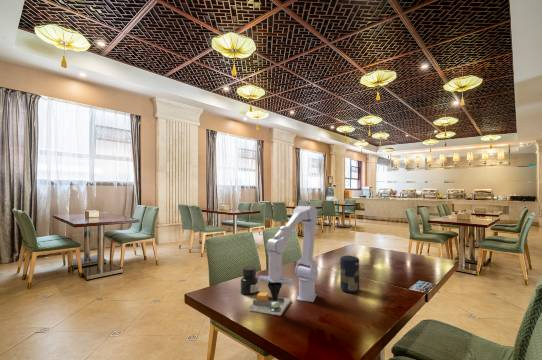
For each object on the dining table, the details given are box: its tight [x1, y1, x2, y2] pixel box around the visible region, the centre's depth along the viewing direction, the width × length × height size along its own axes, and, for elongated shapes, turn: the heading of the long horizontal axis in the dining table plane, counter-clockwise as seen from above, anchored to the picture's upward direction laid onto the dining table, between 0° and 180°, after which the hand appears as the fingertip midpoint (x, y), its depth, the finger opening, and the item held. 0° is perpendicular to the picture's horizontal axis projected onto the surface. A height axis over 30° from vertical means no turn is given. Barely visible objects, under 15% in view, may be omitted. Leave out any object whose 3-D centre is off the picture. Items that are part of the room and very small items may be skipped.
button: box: [271, 302, 279, 308], centre depth 112 cm, size 3×3×1 cm
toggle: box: [256, 291, 269, 302], centre depth 120 cm, size 4×4×3 cm
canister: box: [339, 254, 360, 294], centre depth 139 cm, size 10×10×18 cm
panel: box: [249, 295, 292, 317], centre depth 119 cm, size 16×14×3 cm
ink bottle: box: [240, 266, 259, 296], centre depth 136 cm, size 10×9×12 cm
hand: (275, 300), depth 112 cm, fingers closed
